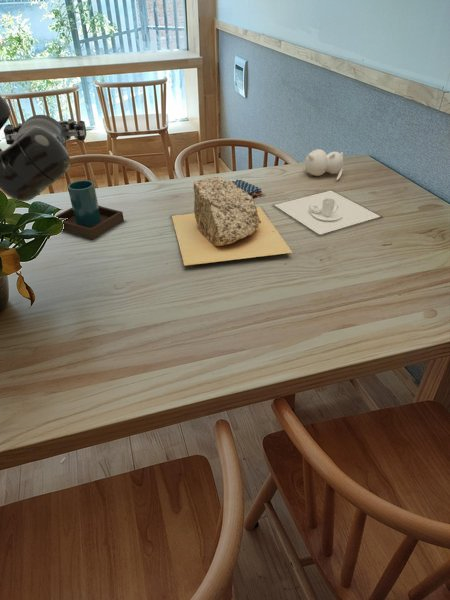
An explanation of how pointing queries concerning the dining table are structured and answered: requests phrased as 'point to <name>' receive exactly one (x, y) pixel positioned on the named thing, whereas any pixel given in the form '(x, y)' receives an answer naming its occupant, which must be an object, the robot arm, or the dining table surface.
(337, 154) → the cat figurine
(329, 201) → the teacup and saucer
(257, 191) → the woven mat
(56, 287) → the dining table surface
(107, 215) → the tray
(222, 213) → the rock
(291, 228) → the dining table surface
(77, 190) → the cup
